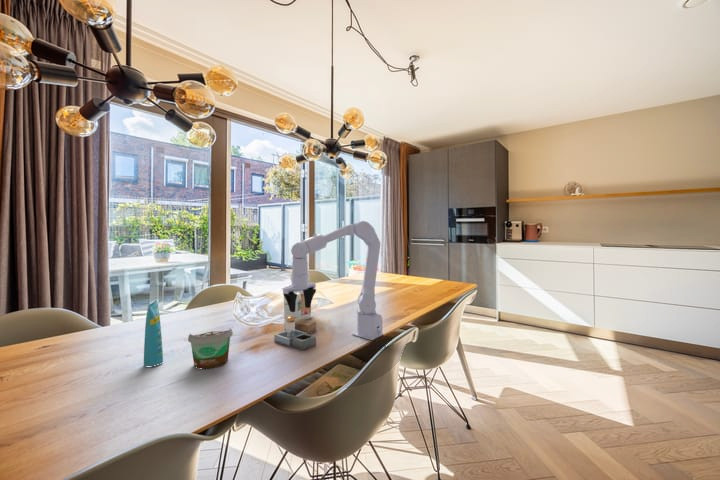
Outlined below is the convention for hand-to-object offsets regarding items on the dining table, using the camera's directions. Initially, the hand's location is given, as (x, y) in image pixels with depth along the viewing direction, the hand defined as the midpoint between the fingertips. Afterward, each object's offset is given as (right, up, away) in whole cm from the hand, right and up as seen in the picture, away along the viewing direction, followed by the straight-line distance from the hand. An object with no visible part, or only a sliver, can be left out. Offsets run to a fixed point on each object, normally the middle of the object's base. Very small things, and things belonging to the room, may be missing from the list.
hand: (300, 309), depth 114 cm
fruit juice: (-5, -10, +25) cm, 28 cm away
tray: (-3, -11, -4) cm, 12 cm away
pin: (-3, -10, -4) cm, 11 cm away
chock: (+1, -11, +6) cm, 12 cm away
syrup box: (-5, -10, +11) cm, 16 cm away
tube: (-40, -11, -24) cm, 47 cm away
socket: (+3, -11, -9) cm, 14 cm away
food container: (-22, -11, -25) cm, 35 cm away
